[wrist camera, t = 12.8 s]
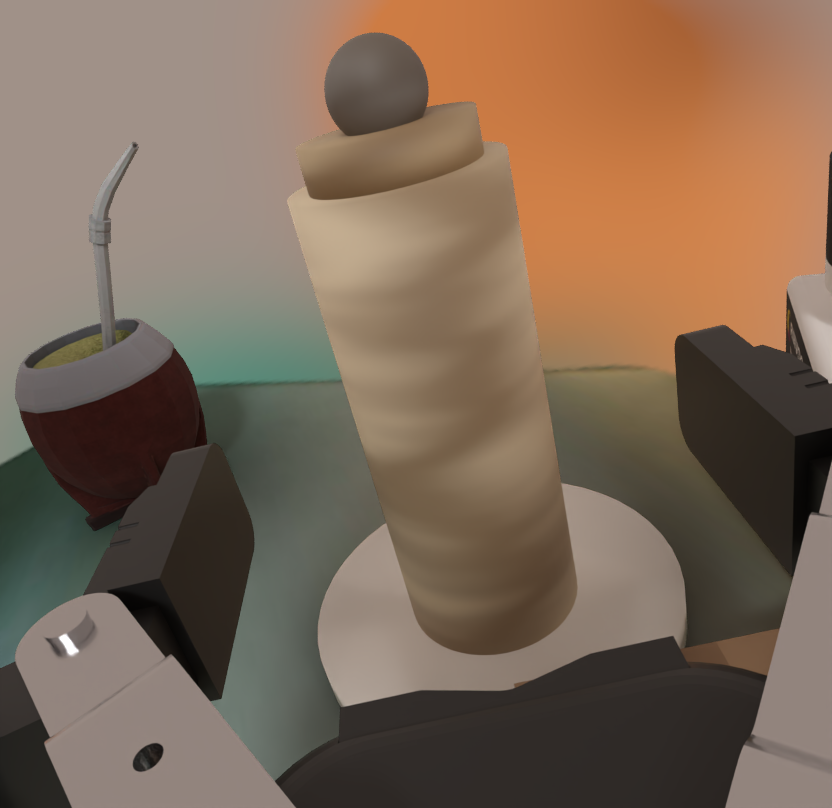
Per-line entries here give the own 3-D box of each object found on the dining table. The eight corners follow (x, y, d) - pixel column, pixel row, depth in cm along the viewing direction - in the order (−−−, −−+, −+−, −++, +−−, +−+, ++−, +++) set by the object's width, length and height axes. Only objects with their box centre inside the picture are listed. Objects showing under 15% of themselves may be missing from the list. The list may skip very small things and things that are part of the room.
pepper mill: (418, 671, 19) (223, 68, 12) (409, 554, 24) (262, 61, 17) (598, 633, 19) (502, -4, 12) (555, 521, 24) (467, 8, 17)
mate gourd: (69, 503, 35) (-100, 199, 28) (217, 431, 38) (97, 144, 31) (100, 572, 29) (-106, 209, 22) (272, 481, 32) (139, 140, 25)
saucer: (315, 818, 17) (302, 792, 17) (334, 539, 27) (327, 518, 27) (761, 727, 17) (761, 699, 16) (618, 476, 27) (615, 454, 26)
